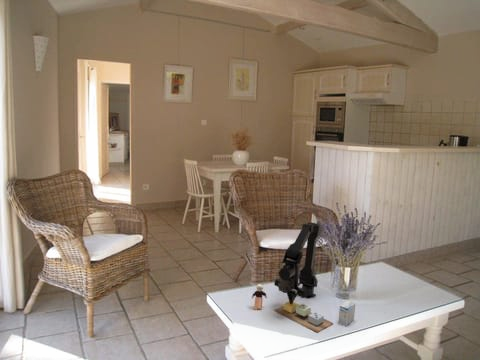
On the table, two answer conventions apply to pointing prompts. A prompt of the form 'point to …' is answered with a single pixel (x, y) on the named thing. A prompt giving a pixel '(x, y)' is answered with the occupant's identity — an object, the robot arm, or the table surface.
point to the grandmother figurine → (258, 297)
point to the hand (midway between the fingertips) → (291, 303)
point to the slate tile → (315, 318)
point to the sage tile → (303, 309)
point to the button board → (303, 320)
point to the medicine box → (346, 313)
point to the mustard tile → (290, 307)
